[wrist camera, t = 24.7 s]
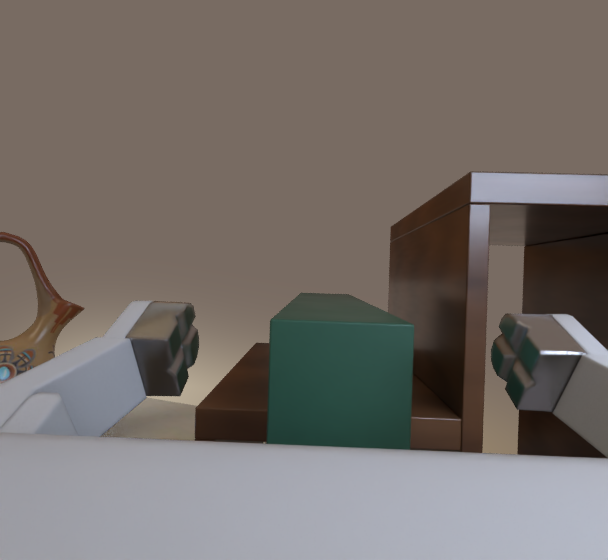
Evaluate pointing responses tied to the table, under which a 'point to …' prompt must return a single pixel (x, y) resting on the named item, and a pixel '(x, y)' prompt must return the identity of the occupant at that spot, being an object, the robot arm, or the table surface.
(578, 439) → the step shelf
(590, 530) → the robot arm
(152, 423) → the table surface
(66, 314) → the ceramic vessel
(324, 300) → the carton
